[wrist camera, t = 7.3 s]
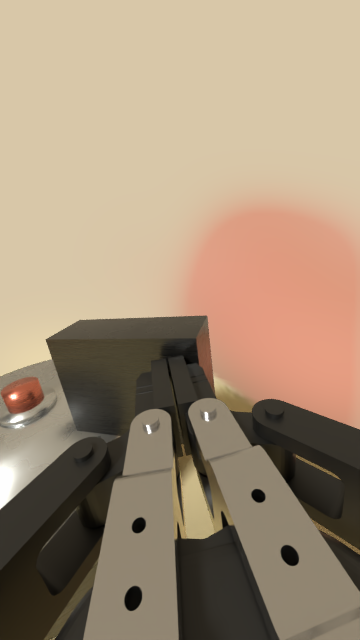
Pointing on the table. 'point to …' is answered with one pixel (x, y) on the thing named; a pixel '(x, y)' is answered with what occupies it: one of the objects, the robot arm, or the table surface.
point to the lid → (87, 388)
